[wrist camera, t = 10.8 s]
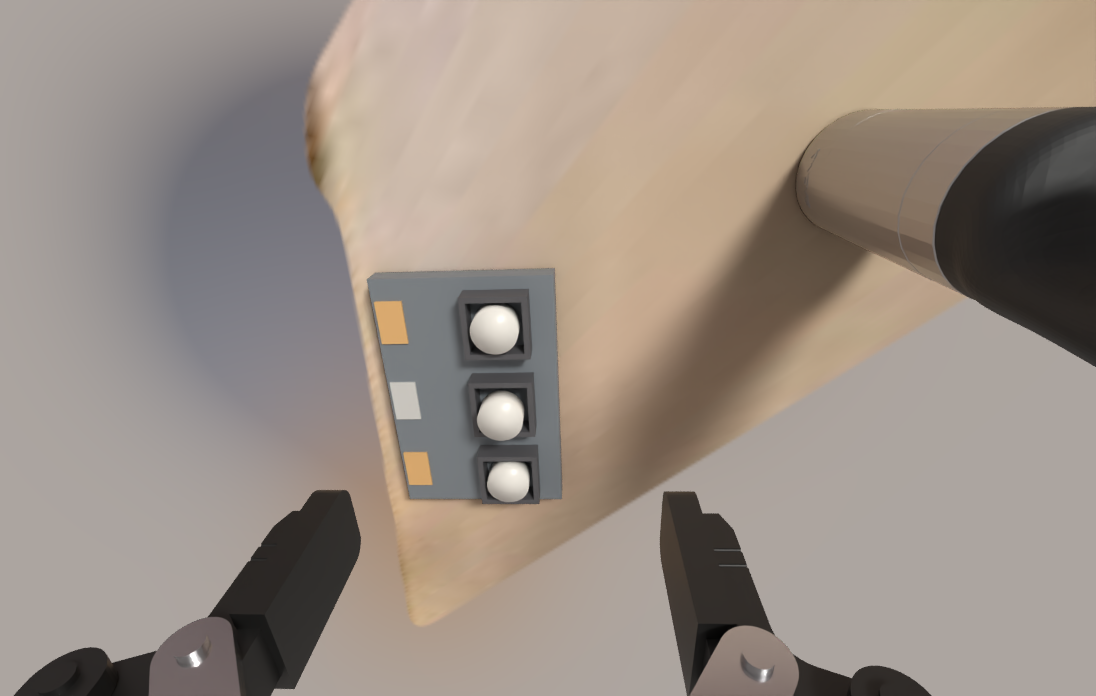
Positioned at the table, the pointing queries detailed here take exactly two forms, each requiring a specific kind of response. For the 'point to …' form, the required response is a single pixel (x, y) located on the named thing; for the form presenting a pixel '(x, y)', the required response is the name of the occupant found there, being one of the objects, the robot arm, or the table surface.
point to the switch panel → (468, 378)
